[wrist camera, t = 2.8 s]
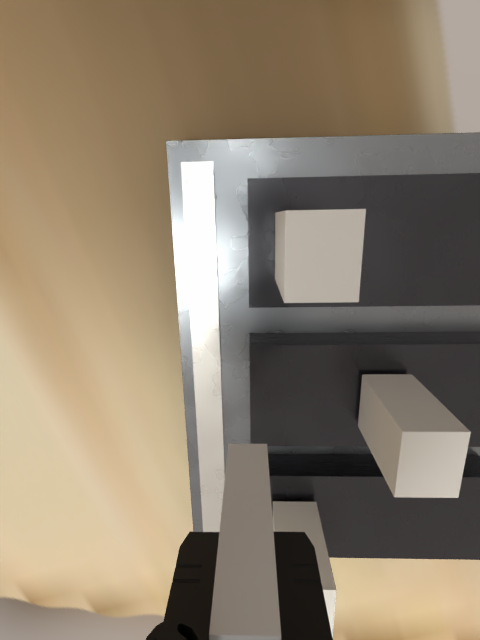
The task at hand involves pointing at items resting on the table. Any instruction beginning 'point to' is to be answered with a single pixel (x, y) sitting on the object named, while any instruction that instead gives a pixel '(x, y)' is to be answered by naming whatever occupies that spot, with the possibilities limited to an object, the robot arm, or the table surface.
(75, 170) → the table surface
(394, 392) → the block
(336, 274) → the block
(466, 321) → the panel
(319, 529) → the breaker far
